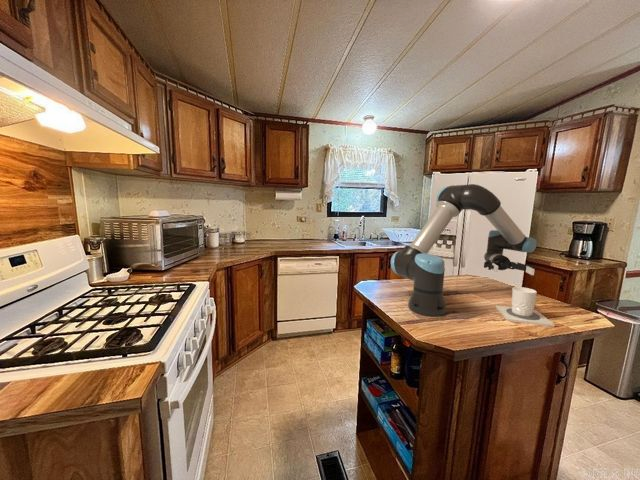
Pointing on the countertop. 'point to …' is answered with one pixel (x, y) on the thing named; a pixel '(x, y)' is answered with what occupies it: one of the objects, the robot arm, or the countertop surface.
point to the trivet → (524, 317)
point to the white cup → (523, 301)
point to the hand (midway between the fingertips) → (514, 270)
